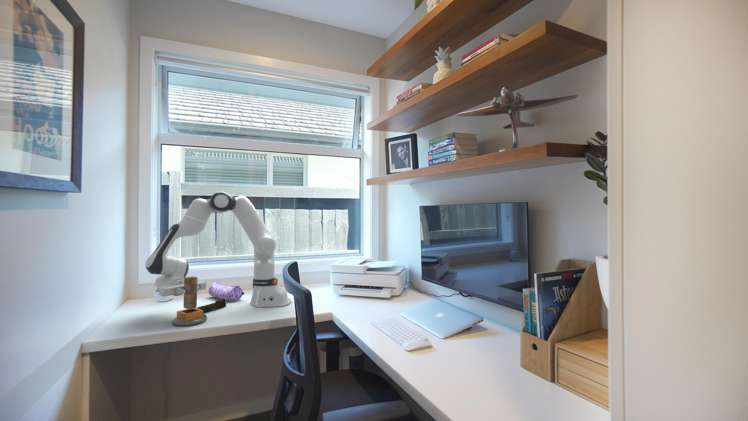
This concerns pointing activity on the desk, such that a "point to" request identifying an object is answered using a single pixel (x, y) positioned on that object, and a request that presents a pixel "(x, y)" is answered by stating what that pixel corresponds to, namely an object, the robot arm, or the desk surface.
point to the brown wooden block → (190, 292)
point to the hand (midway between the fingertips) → (191, 290)
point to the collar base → (189, 317)
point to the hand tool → (213, 305)
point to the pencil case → (225, 291)
